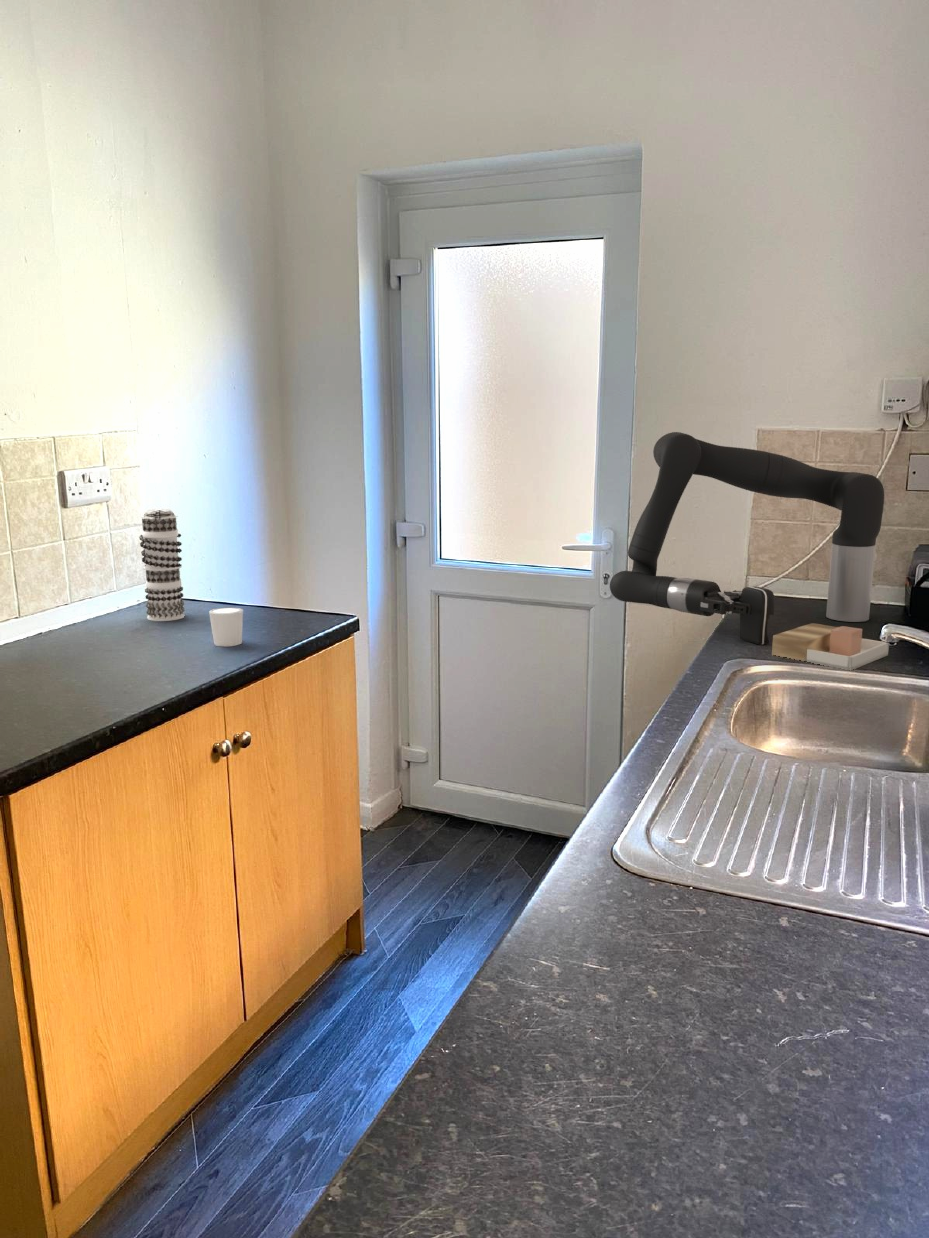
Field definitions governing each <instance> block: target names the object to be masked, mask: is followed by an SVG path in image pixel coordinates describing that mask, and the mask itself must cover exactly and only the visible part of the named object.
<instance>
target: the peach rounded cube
mask: <svg viewBox="0 0 929 1238" xmlns="http://www.w3.org/2000/svg"><path fill="white" fill-rule="evenodd" d="M837 627H838V628H835V629H833V630H831V638H830V651H829V653H833V654H839V655H844V656H852V655H855V654H857V653H860V651H861V640H862V638H863V628H858V627H852V626H851V627H850V626H845V625H841V626H837Z"/></svg>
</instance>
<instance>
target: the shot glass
mask: <svg viewBox="0 0 929 1238" xmlns="http://www.w3.org/2000/svg"><path fill="white" fill-rule="evenodd" d="M208 613H209V621H210V626H211V627H210V628H211V632H212V638H213V639H212V640H213V645H214V646H217V647H234V646H238V645H240V644H242V643H243V621H244V620H243V619H244V609H243V608H239V607H221V608H220V607H218V608H213V609H211V610H209V611H208Z"/></svg>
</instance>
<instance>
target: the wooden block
mask: <svg viewBox="0 0 929 1238" xmlns="http://www.w3.org/2000/svg"><path fill="white" fill-rule="evenodd" d="M838 627H839V626H832V625H825V624H820V623H813V622H811V623H809V624H808V623H807V624H804V625H801V626H798V627H795V628H791V629H789V630H786V631H783V632H780V633H776V634H774V635H772V647H771V656H773V655H776V656H775V657H778V656H780V657H779V658H783V657H787V658H786V659H789V658H791V659H790V660H794V659H795V661H799V660H801V661H800V662H804V661H806V659H807V649H811V650H817V651H822V652H827V651H830V638H831V630H833V629H835V628H838Z"/></svg>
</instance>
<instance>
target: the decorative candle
mask: <svg viewBox="0 0 929 1238" xmlns="http://www.w3.org/2000/svg"><path fill="white" fill-rule="evenodd" d="M177 518H178V516H177V515H175V513H174V512H173V510H171V509H164V508H162V509H160V508H159V509H148V510H146V511H145V512H144V515H143V516H140V519H141V524H142V531H141V534H140V535H139V536H138V537H139V540H140V541H141V542H139V547H141V548H142V549H143V550H142V551H141V552H140V553H141V556H142V558H141V562H142V563H144V564H145V565H144V566H143V570H144V571H145V576H146V577H145V578H146V579H145V587H146V588H145V589H144V593H146V595H145V599H146V600H147V602H146V603H145V606H146V608H147V609H146V611H145V612H146V614H147V618H146V619H147V621H148V620H149V621H152V622H169V621H170V622H171V621H177V620H180V619H183V618H185V617H184V616H185V614H184V612H185V607H184V605H185V601H184V600H183V599H182V598H183V597H184V593H183V590H184V587H183V586H182V579H181V571H180V569H181V568H182V564H181V563H180V562H181V561H182V560H183V558H182V557H180V556H179V554H180V553H182V549H181V548H180V546H182V544H183V543H182V542H181V541H178V538H180V537H181V536H182V534H181V533H179V529H178V528H177V525H178V524H177Z"/></svg>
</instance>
